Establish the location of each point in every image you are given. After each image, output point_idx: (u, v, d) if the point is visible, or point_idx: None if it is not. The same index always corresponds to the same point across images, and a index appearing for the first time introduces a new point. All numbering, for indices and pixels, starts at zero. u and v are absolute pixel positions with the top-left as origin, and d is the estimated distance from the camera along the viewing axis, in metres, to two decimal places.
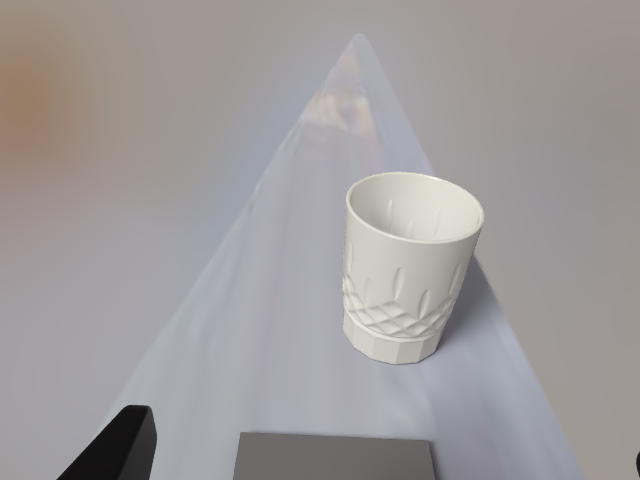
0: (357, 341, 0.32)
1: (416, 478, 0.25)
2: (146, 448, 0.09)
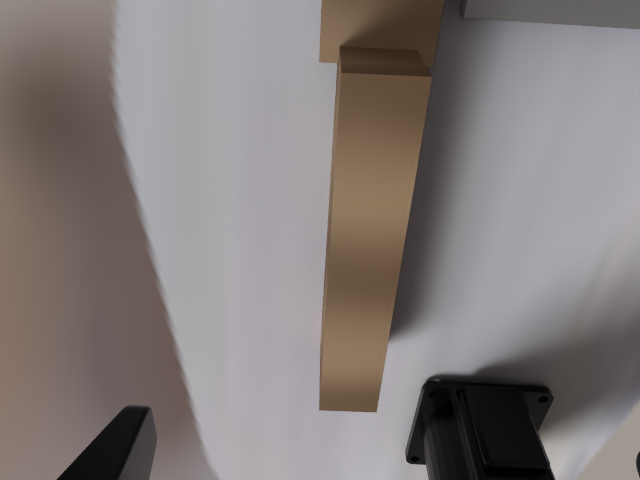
0: None
1: None
2: (146, 448, 0.09)
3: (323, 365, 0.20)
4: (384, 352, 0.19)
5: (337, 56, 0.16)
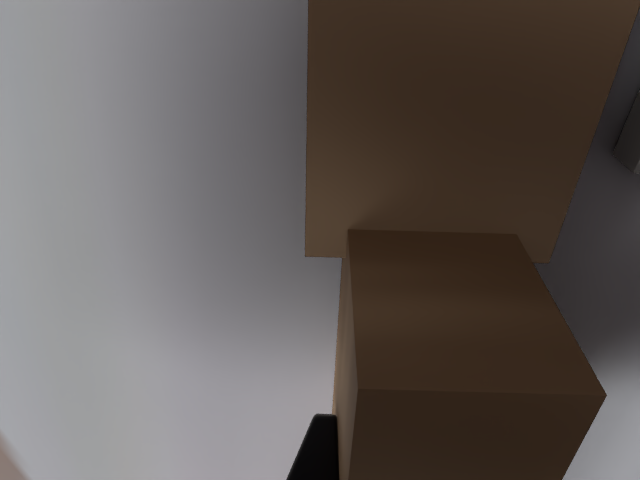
0: None
1: None
2: None
3: None
4: None
5: (343, 246, 0.07)
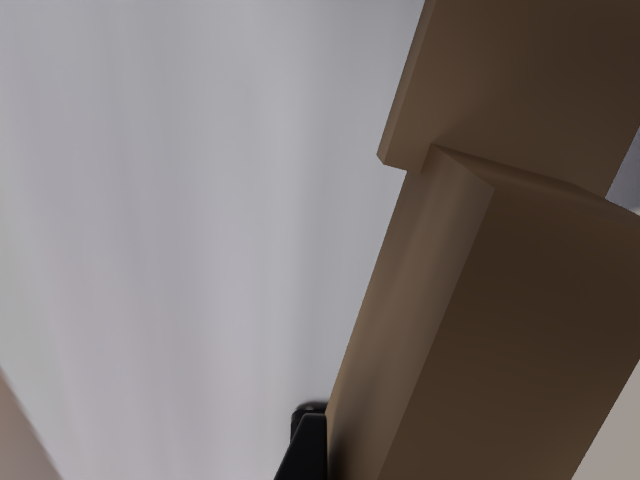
0: None
1: None
2: None
3: None
4: None
5: (421, 161, 0.08)
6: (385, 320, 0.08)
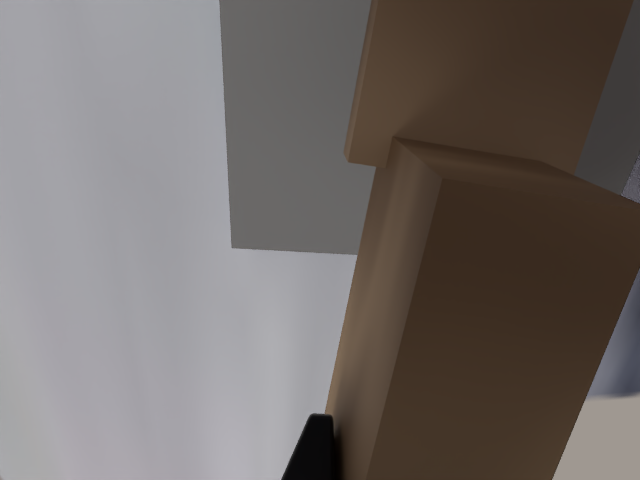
0: None
1: None
2: None
3: None
4: None
5: (385, 155, 0.08)
6: (365, 317, 0.08)
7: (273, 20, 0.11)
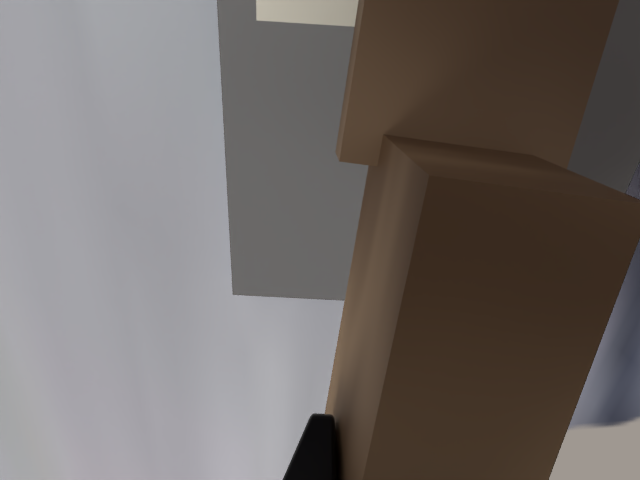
0: None
1: None
2: None
3: None
4: None
5: (377, 153, 0.08)
6: (361, 316, 0.08)
7: (271, 96, 0.11)
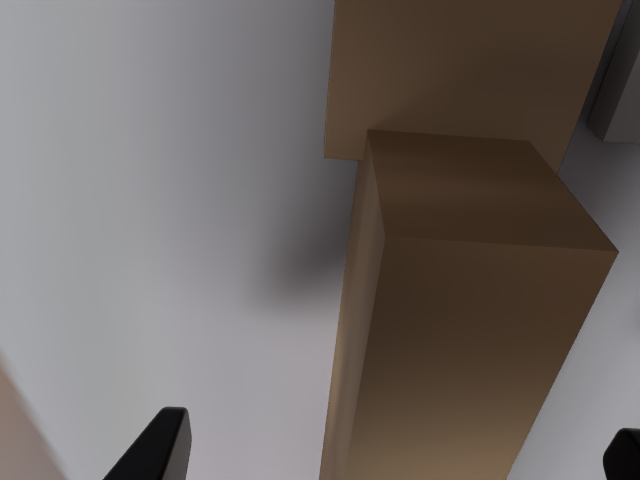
0: None
1: None
2: (183, 450, 0.09)
3: None
4: None
5: (362, 148, 0.08)
6: (350, 306, 0.08)
7: None
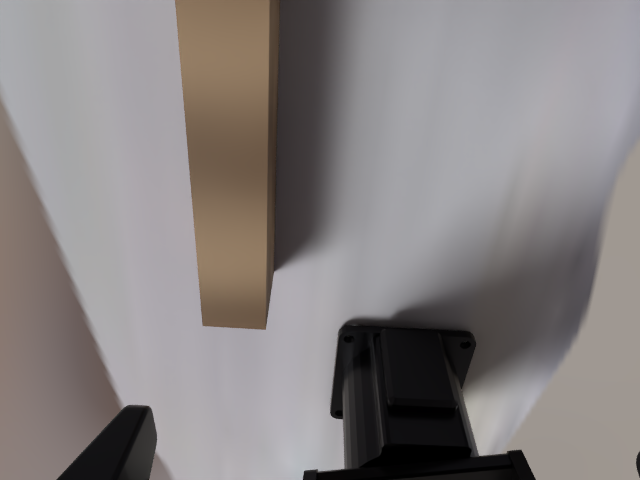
0: None
1: None
2: (146, 448, 0.09)
3: (199, 269, 0.18)
4: (264, 253, 0.17)
5: None
6: None
7: None
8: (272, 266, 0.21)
